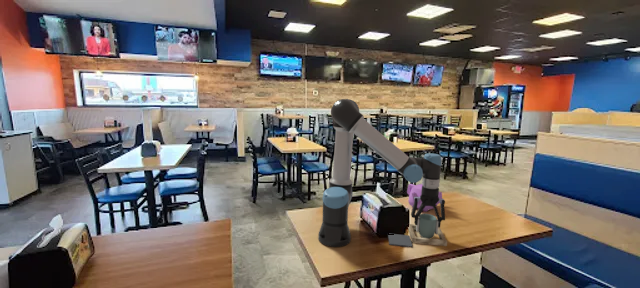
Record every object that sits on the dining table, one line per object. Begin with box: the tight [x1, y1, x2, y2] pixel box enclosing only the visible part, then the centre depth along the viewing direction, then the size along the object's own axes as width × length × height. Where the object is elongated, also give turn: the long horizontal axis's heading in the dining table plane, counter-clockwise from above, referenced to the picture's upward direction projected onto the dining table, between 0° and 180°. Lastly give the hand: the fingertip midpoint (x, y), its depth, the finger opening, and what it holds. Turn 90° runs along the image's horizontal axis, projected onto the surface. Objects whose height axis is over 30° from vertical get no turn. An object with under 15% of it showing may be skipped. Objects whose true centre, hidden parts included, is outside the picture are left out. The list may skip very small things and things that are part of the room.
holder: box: [407, 223, 448, 247], centre depth 134 cm, size 15×15×2 cm
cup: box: [419, 213, 437, 239], centre depth 133 cm, size 8×8×10 cm
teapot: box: [406, 183, 443, 213], centre depth 170 cm, size 19×18×15 cm
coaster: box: [387, 233, 413, 248], centre depth 129 cm, size 10×10×1 cm
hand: (426, 232), depth 133 cm, fingers closed on cup, 8 cm apart
